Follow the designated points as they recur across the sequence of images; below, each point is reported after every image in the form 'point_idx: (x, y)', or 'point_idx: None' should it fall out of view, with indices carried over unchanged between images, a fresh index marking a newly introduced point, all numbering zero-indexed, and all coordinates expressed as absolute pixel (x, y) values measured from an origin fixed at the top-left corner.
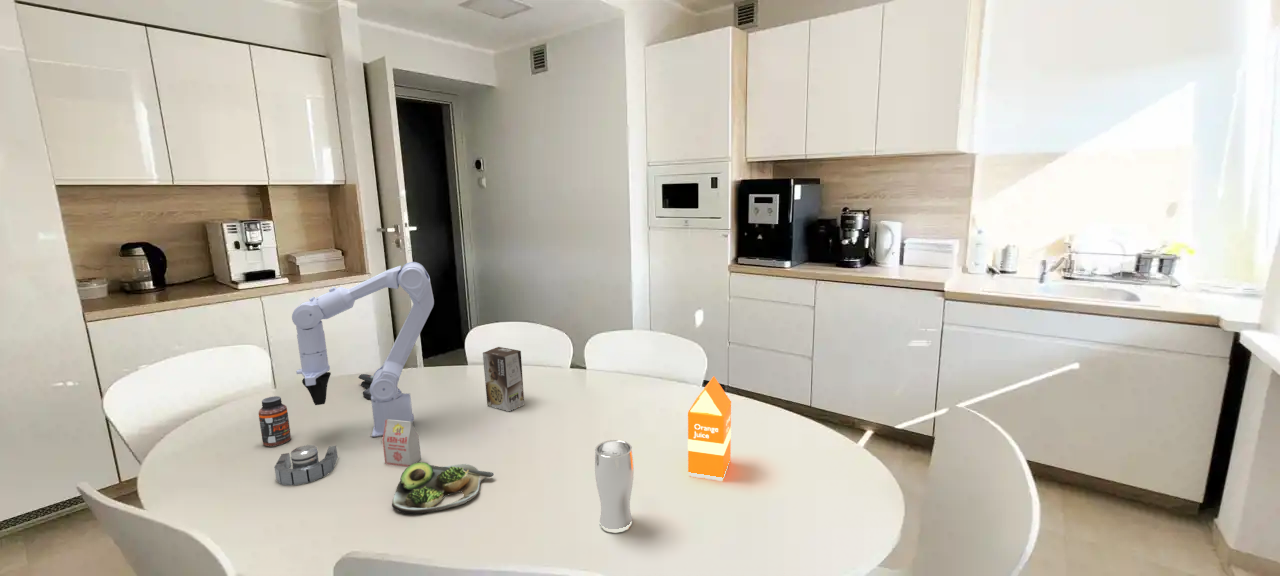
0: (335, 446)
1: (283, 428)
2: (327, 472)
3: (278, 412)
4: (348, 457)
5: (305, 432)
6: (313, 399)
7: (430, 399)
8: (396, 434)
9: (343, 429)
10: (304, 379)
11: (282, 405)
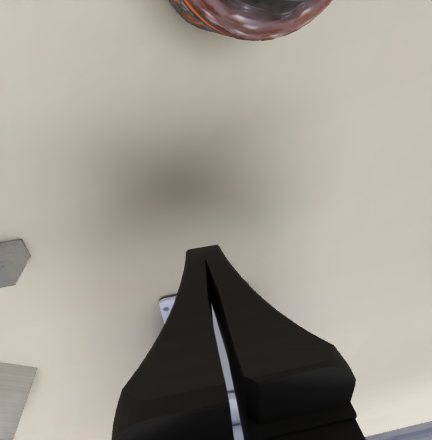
0: (4, 286)
1: (190, 18)
2: None
3: (191, 2)
4: (29, 281)
5: (279, 73)
6: (185, 274)
7: (364, 344)
8: None
9: (252, 207)
10: (173, 428)
11: (272, 13)
